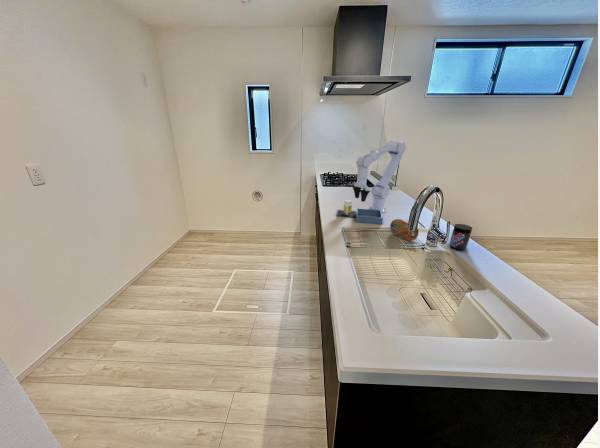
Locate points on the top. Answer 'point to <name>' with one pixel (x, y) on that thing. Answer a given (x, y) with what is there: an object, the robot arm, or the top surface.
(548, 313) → the top surface
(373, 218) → the crate
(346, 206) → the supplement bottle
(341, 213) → the mat
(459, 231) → the supplement container
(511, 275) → the top surface
